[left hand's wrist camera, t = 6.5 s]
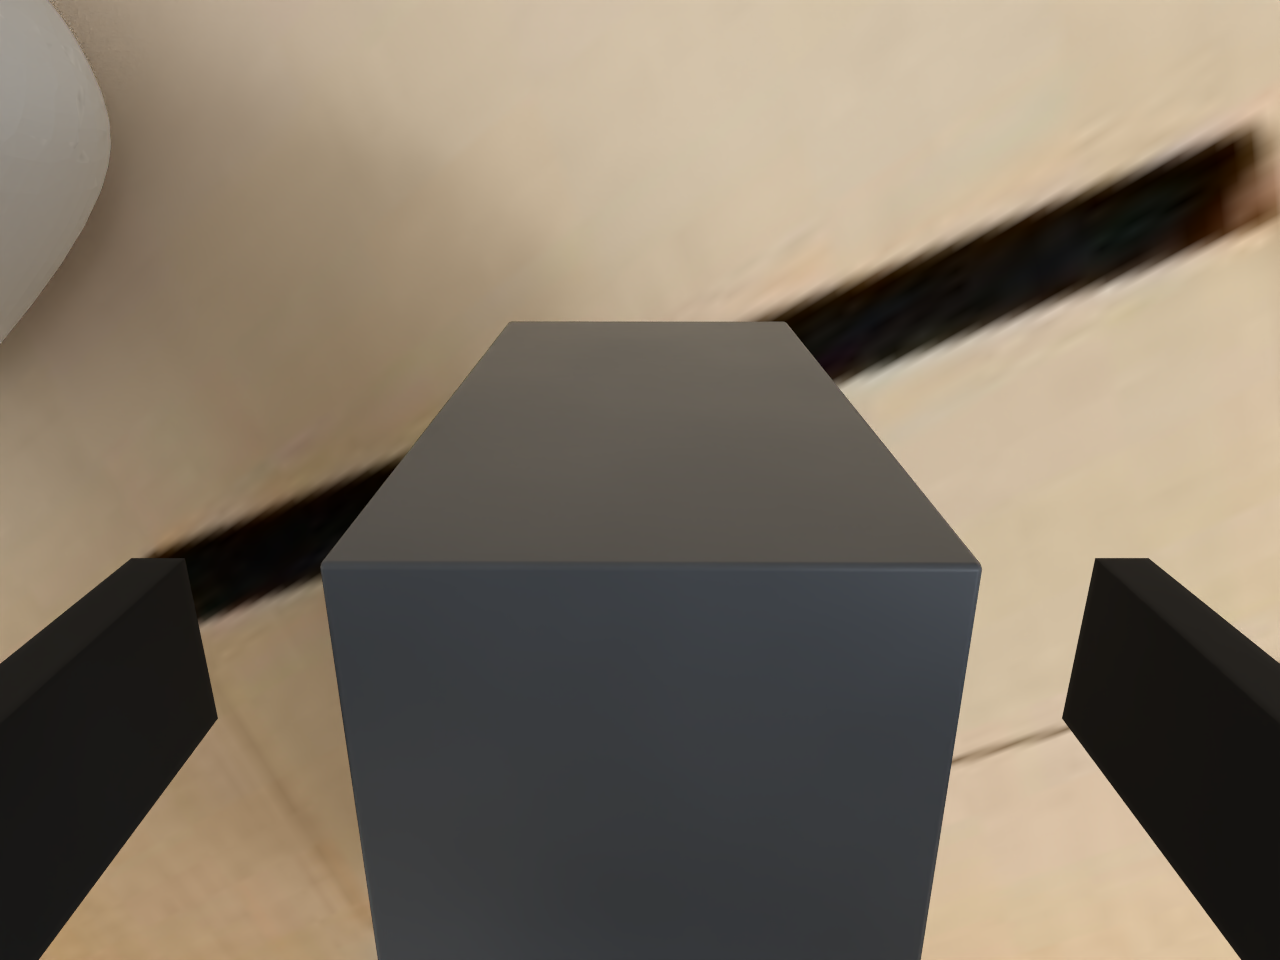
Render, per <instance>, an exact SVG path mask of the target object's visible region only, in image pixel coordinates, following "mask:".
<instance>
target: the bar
mask: <svg viewBox="0 0 1280 960" xmlns="http://www.w3.org/2000/svg"><path fill="white" fill-rule="evenodd" d="M320 568H321V574H322V581H323V588H324V595H325V602H326V608H327V615H328V622H329V629H330V636H331V643H332V649H333V656H334V663H335V670H336V677H337V683H338V690H339V697H340V704H341V711H342V717H343V724H344V731H345V738H346V745H347V751H348V758H349V765H350V772H351V779H352V785H353V792H354V799H355V806H356V813H357V820H358V826H359V833H360V840H361V847H362V854H363V860H364V867H365V874H366V881H367V888H368V894H369V901H370V908H371V915H372V922H373V928H374V935H375V942H376V949H377V956H378V960H921V954H922V947H923V941H924V935H925V928H926V922H927V915H928V909H929V903H930V896H931V890H932V884H933V877H934V871H935V865H936V858H937V852H938V845H939V839H940V833H941V826H942V820H943V814H944V807H945V801H946V794H947V788H948V782H949V775H950V769H951V763H952V756H953V750H954V744H955V737H956V731H957V724H958V718H959V712H960V705H961V699H962V693H963V686H964V680H965V674H966V667H967V661H968V654H969V648H970V642H971V635H972V629H973V623H974V616H975V610H976V603H977V597H978V591H979V584H980V578H981V572H982V568H981V564H980V563H979V562H978V560H977V559H976V558H975V557H974V555H973V554H972V553H971V552H970V550H969V549H968V548H967V547H966V545H965V544H964V543H963V542H962V541H961V539H960V538H959V537H958V536H957V534H956V533H955V532H954V531H953V529H952V528H951V527H950V526H949V524H948V523H947V522H946V521H945V519H944V518H943V517H942V516H941V514H940V513H939V512H938V511H937V510H936V508H935V507H934V506H933V505H932V503H931V502H930V501H929V500H928V498H927V497H926V496H925V495H924V493H923V492H922V491H921V490H920V488H919V487H918V486H917V485H916V483H915V482H914V481H913V480H912V478H911V477H910V476H909V475H908V474H907V472H906V471H905V470H904V469H903V467H902V466H901V465H900V464H899V462H898V461H897V460H896V459H895V457H894V456H893V455H892V454H891V452H890V451H889V450H888V449H887V447H886V446H885V445H884V444H883V443H882V441H881V440H880V439H879V438H878V436H877V435H876V434H875V433H874V431H873V430H872V429H871V428H870V426H869V425H868V424H867V423H866V421H865V420H864V419H863V418H862V416H861V415H860V414H859V413H858V411H857V410H856V409H855V408H854V407H853V405H852V404H851V403H850V402H849V400H848V399H847V398H846V397H845V395H844V394H843V393H842V392H841V390H840V389H839V388H838V387H837V385H836V384H835V383H834V382H833V380H832V379H831V378H830V377H829V376H828V374H827V373H826V372H825V371H824V369H823V368H822V367H821V366H820V364H819V363H818V362H817V361H816V359H815V358H814V357H813V356H812V354H811V353H810V352H809V351H808V349H807V348H806V347H805V346H804V344H803V343H802V342H801V341H800V340H799V338H798V337H797V336H796V335H795V333H794V332H793V331H792V330H791V328H790V327H789V326H788V325H787V323H785V322H509V323H508V325H507V326H506V327H505V329H504V330H503V331H502V332H501V334H500V335H499V336H498V337H497V339H496V340H495V341H494V343H493V344H492V345H491V346H490V348H489V349H488V350H487V352H486V353H485V354H484V355H483V357H482V358H481V359H480V361H479V362H478V363H477V364H476V366H475V367H474V368H473V370H472V371H471V372H470V373H469V375H468V376H467V377H466V378H465V380H464V381H463V382H462V384H461V385H460V386H459V387H458V389H457V390H456V391H455V393H454V394H453V395H452V396H451V398H450V399H449V400H448V402H447V403H446V404H445V405H444V407H443V408H442V409H441V410H440V412H439V413H438V414H437V416H436V417H435V418H434V419H433V421H432V422H431V423H430V425H429V426H428V427H427V428H426V430H425V431H424V432H423V434H422V435H421V436H420V437H419V439H418V440H417V441H416V443H415V444H414V445H413V446H412V448H411V449H410V450H409V451H408V453H407V454H406V455H405V457H404V458H403V459H402V460H401V462H400V463H399V464H398V466H397V467H396V468H395V469H394V471H393V472H392V473H391V475H390V476H389V477H388V478H387V480H386V481H385V482H384V483H383V485H382V486H381V487H380V489H379V490H378V491H377V492H376V494H375V495H374V496H373V498H372V499H371V500H370V501H369V503H368V504H367V505H366V507H365V508H364V509H363V510H362V512H361V513H360V514H359V516H358V517H357V518H356V519H355V521H354V522H353V523H352V524H351V526H350V527H349V528H348V530H347V531H346V532H345V533H344V535H343V536H342V537H341V539H340V540H339V541H338V542H337V544H336V545H335V546H334V548H333V549H332V550H331V551H330V553H329V554H328V555H327V557H326V558H325V559H324V560H323V562H322V564H321V567H320Z"/></svg>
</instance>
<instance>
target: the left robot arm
mask: <svg viewBox="0 0 1280 960" xmlns="http://www.w3.org/2000/svg"><path fill="white" fill-rule="evenodd" d="M217 719H218V717H217V712H216V707H215V702H214V697H213V693H212V688H211V683H210V678H209V673H208V668H207V664H206V659H205V654H204V649H203V644H202V640H201V635H200V630H199V625H198V620H197V615H196V611H195V606H194V601H193V596H192V591H191V586H190V582H189V577H188V572H187V567H186V562H185V558H131V559H130V560H129V561H128V562H126V563H125V564H124V565H123V566H121V567H120V568H119V569H118V570H116V571H115V572H114V573H113V574H111V575H110V576H109V577H108V578H106V579H105V580H104V581H103V582H101V583H100V584H99V585H98V586H96V587H95V588H94V589H93V590H91V591H90V592H89V593H88V594H86V595H85V596H84V597H83V598H81V599H80V600H79V601H78V602H77V603H75V604H74V605H73V606H72V607H70V608H69V609H68V610H67V611H65V612H64V613H63V614H62V615H60V616H59V617H58V618H57V619H55V620H54V621H53V622H52V623H50V624H49V625H48V626H47V627H45V628H44V629H43V630H42V631H40V632H39V633H38V634H37V635H35V636H34V637H33V638H32V639H30V640H29V641H28V642H27V643H26V644H24V645H23V646H22V647H21V648H19V649H18V650H17V651H16V652H14V653H13V654H12V655H11V656H9V657H8V658H7V659H6V660H4V661H3V662H2V663H1V664H0V960H39V959H40V957H41V956H42V955H43V953H44V952H45V951H46V949H47V948H48V946H49V945H50V944H51V942H52V941H53V940H54V938H55V937H56V936H57V934H58V933H59V932H60V930H61V929H62V928H63V926H64V925H65V924H66V922H67V921H68V920H69V918H70V917H71V916H72V914H73V913H74V911H75V910H76V909H77V907H78V906H79V905H80V903H81V902H82V901H83V899H84V898H85V897H86V895H87V894H88V893H89V891H90V890H91V889H92V887H93V886H94V885H95V883H96V882H97V880H98V879H99V878H100V876H101V875H102V874H103V872H104V871H105V870H106V868H107V867H108V866H109V864H110V863H111V862H112V860H113V859H114V858H115V856H116V855H117V854H118V852H119V851H120V849H121V848H122V847H123V845H124V844H125V843H126V841H127V840H128V839H129V837H130V836H131V835H132V833H133V832H134V831H135V829H136V828H137V827H138V825H139V824H140V823H141V821H142V820H143V818H144V817H145V816H146V814H147V813H148V812H149V810H150V809H151V808H152V806H153V805H154V804H155V802H156V801H157V800H158V798H159V797H160V796H161V794H162V793H163V792H164V790H165V789H166V788H167V786H168V785H169V783H170V782H171V781H172V779H173V778H174V777H175V775H176V774H177V773H178V771H179V770H180V769H181V767H182V766H183V765H184V763H185V762H186V761H187V759H188V758H189V757H190V755H191V754H192V752H193V751H194V750H195V748H196V747H197V746H198V744H199V743H200V742H201V740H202V739H203V738H204V736H205V735H206V734H207V732H208V731H209V730H210V728H211V727H212V726H213V724H214V723H215V721H216V720H217ZM1062 719H1063V720H1064V721H1065V723H1066V724H1067V726H1068V727H1069V728H1070V730H1071V731H1072V732H1073V734H1074V735H1075V736H1076V738H1077V739H1078V740H1079V742H1080V743H1081V744H1082V746H1083V747H1084V748H1085V750H1086V751H1087V752H1088V754H1089V755H1090V757H1091V758H1092V759H1093V761H1094V762H1095V763H1096V765H1097V766H1098V767H1099V769H1100V770H1101V771H1102V773H1103V774H1104V775H1105V777H1106V778H1107V779H1108V781H1109V782H1110V783H1111V785H1112V786H1113V788H1114V789H1115V790H1116V792H1117V793H1118V794H1119V796H1120V797H1121V798H1122V800H1123V801H1124V802H1125V804H1126V805H1127V806H1128V808H1129V809H1130V810H1131V812H1132V813H1133V814H1134V816H1135V817H1136V818H1137V820H1138V821H1139V823H1140V824H1141V825H1142V827H1143V828H1144V829H1145V831H1146V832H1147V833H1148V835H1149V836H1150V837H1151V839H1152V840H1153V841H1154V843H1155V844H1156V845H1157V847H1158V848H1159V849H1160V851H1161V852H1162V854H1163V855H1164V856H1165V858H1166V859H1167V860H1168V862H1169V863H1170V864H1171V866H1172V867H1173V868H1174V870H1175V871H1176V872H1177V874H1178V875H1179V876H1180V878H1181V879H1182V880H1183V882H1184V883H1185V885H1186V886H1187V887H1188V889H1189V890H1190V891H1191V893H1192V894H1193V895H1194V897H1195V898H1196V899H1197V901H1198V902H1199V903H1200V905H1201V906H1202V907H1203V909H1204V910H1205V911H1206V913H1207V914H1208V916H1209V917H1210V918H1211V920H1212V921H1213V922H1214V924H1215V925H1216V926H1217V928H1218V929H1219V930H1220V932H1221V933H1222V934H1223V936H1224V937H1225V938H1226V940H1227V941H1228V942H1229V944H1230V945H1231V946H1232V948H1233V949H1234V951H1235V952H1236V953H1237V955H1238V956H1239V957H1240V959H1241V960H1280V664H1279V663H1278V662H1277V661H1276V660H1274V659H1273V658H1272V657H1271V656H1269V655H1268V654H1267V653H1266V652H1264V651H1263V650H1262V649H1261V648H1259V647H1258V646H1257V645H1256V644H1254V643H1253V642H1252V641H1251V640H1250V639H1248V638H1247V637H1246V636H1245V635H1243V634H1242V633H1241V632H1240V631H1238V630H1237V629H1236V628H1235V627H1233V626H1232V625H1231V624H1230V623H1228V622H1227V621H1226V620H1225V619H1223V618H1222V617H1221V616H1220V615H1218V614H1217V613H1216V612H1215V611H1213V610H1212V609H1211V608H1210V607H1208V606H1207V605H1206V604H1205V603H1203V602H1202V601H1201V600H1200V599H1199V598H1197V597H1196V596H1195V595H1194V594H1192V593H1191V592H1190V591H1189V590H1187V589H1186V588H1185V587H1184V586H1182V585H1181V584H1180V583H1179V582H1177V581H1176V580H1175V579H1174V578H1172V577H1171V576H1170V575H1169V574H1167V573H1166V572H1165V571H1164V570H1162V569H1161V568H1160V567H1159V566H1157V565H1156V564H1155V563H1154V562H1152V561H1151V560H1150V559H1149V558H1095V562H1094V567H1093V572H1092V577H1091V582H1090V586H1089V591H1088V596H1087V601H1086V606H1085V611H1084V615H1083V620H1082V625H1081V630H1080V635H1079V639H1078V644H1077V649H1076V654H1075V659H1074V664H1073V668H1072V673H1071V678H1070V683H1069V688H1068V693H1067V697H1066V702H1065V707H1064V712H1063V717H1062Z"/></svg>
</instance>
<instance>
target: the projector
mask: <svg viewBox="0 0 1280 960" xmlns="http://www.w3.org/2000/svg"><path fill="white" fill-rule="evenodd" d="M110 151H111V136H110V121H109V116H108V112H107V109H106V105H105V102H104V98H103V95H102V92H101V89H100V87H99V85H98V82H97V80H96V78H95V76H94V73H93V71H92V69H91V67H90V65H89V63H88V61H87V59H86V57H85V55H84V53H83V51H82V49H81V47H80V45H79V43H78V41H77V40H76V38H75V36H74V35H73V33H72V32H71V30H70V29H69V27H68V26H67V24H66V23H65V21H64V20H63V18H62V17H61V16H60V14H59V13H58V12H57V10H56V9H55V8H54V6H53V5H52V4H51V3H50V1H49V0H0V344H1V343H2V341H3V340H4V339H5V338H6V336H7V335H8V334H9V333H10V331H11V330H12V329H13V328H14V326H15V325H16V324H17V323H18V322H19V320H20V319H21V318H22V317H23V315H24V314H25V313H26V312H27V310H28V309H29V308H30V307H31V305H32V304H33V303H34V302H35V300H36V299H37V297H38V296H39V295H40V293H41V292H42V290H43V289H44V288H45V286H46V285H47V283H48V282H49V281H50V279H51V278H52V276H53V275H54V274H55V272H56V271H57V270H58V268H59V267H60V265H61V264H62V262H63V261H64V259H65V257H66V256H67V254H68V253H69V251H70V249H71V248H72V246H73V244H74V243H75V241H76V240H77V238H78V236H79V235H80V233H81V231H82V230H83V228H84V226H85V224H86V222H87V220H88V218H89V216H90V214H91V211H92V209H93V207H94V205H95V203H96V201H97V199H98V197H99V195H100V192H101V189H102V187H103V183H104V180H105V176H106V173H107V169H108V165H109V158H110Z"/></svg>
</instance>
